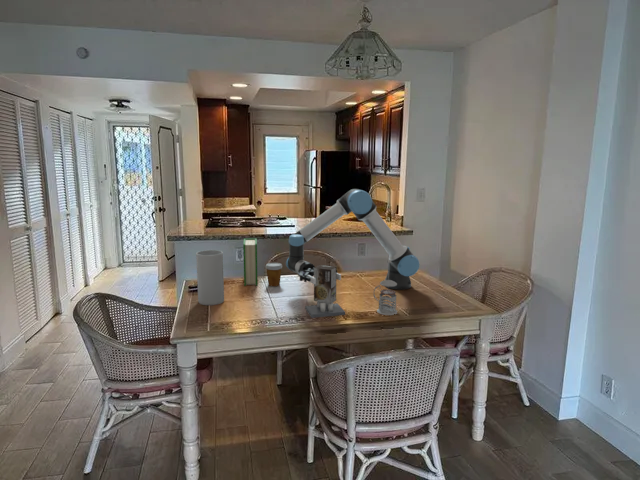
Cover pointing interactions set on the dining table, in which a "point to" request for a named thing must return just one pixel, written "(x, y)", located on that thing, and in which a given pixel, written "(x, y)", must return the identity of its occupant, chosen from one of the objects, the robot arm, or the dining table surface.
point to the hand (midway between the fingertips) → (327, 279)
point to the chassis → (324, 310)
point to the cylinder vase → (210, 277)
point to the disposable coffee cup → (274, 273)
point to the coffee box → (325, 283)
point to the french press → (387, 298)
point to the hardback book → (250, 261)
